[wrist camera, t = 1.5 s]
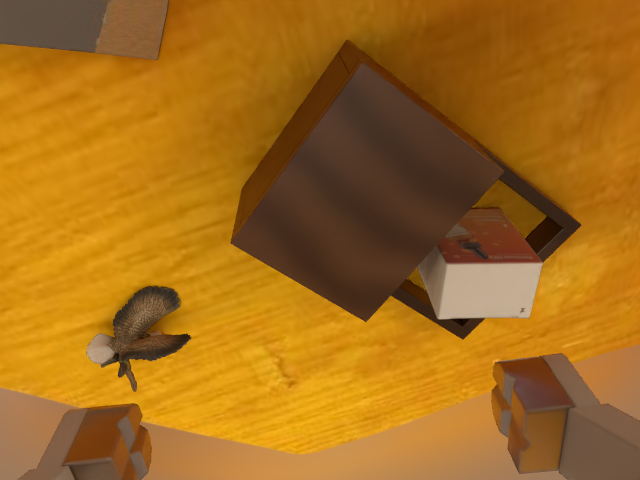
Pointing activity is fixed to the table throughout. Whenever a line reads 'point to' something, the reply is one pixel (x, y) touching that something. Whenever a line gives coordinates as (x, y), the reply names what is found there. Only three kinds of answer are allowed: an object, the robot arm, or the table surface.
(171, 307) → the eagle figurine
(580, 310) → the table surface
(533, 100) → the table surface
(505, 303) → the small box
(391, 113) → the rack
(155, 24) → the sandwich container
